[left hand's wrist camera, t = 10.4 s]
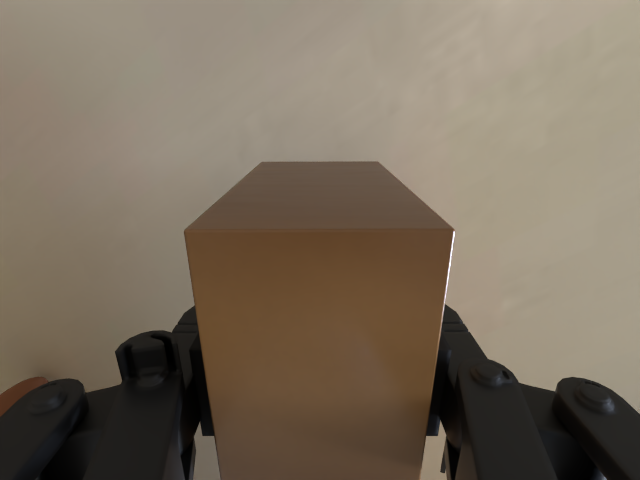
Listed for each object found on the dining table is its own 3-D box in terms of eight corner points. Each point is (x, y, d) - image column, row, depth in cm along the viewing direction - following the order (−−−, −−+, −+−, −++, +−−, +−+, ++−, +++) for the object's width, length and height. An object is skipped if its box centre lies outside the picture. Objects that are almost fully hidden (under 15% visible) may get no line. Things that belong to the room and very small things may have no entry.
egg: (57, 398, 20) (-22, 484, 16) (22, 385, 20) (-69, 469, 15) (66, 374, 20) (-13, 456, 15) (30, 360, 19) (-63, 439, 15)
